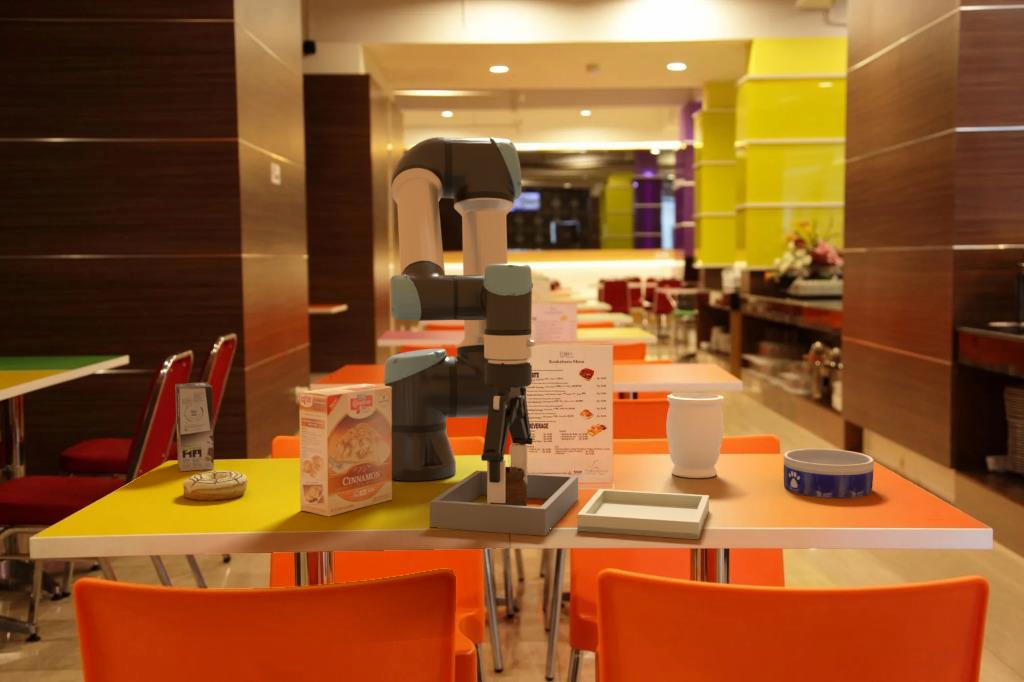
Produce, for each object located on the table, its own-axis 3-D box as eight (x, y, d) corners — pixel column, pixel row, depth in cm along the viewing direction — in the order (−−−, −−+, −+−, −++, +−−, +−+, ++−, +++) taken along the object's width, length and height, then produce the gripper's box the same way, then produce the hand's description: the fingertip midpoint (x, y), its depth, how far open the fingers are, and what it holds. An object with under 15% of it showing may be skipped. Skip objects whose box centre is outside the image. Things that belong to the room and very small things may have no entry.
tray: (577, 530, 158) (577, 514, 158) (599, 503, 175) (599, 488, 175) (698, 539, 153) (699, 522, 153) (708, 510, 170) (709, 495, 170)
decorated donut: (184, 491, 185) (183, 470, 185) (247, 488, 188) (246, 467, 188) (182, 504, 175) (182, 482, 175) (249, 500, 178) (248, 478, 178)
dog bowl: (892, 494, 183) (893, 459, 183) (825, 503, 176) (826, 467, 176) (828, 477, 197) (829, 445, 196) (765, 485, 190) (765, 452, 189)
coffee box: (215, 469, 203) (213, 386, 202) (180, 472, 201) (178, 388, 199) (210, 460, 212) (208, 381, 210) (176, 463, 209) (174, 382, 208)
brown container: (534, 511, 170) (534, 437, 169) (512, 519, 165) (512, 443, 164) (504, 506, 173) (503, 434, 172) (481, 514, 168) (481, 440, 167)
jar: (719, 469, 203) (721, 392, 202) (725, 480, 193) (726, 399, 192) (664, 468, 204) (665, 391, 203) (667, 479, 194) (668, 399, 193)
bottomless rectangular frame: (429, 527, 160) (429, 501, 159) (476, 493, 183) (476, 470, 182) (545, 535, 155) (545, 509, 155) (578, 499, 178) (578, 476, 178)
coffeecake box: (329, 517, 166) (327, 394, 164) (298, 510, 170) (296, 391, 169) (394, 500, 178) (393, 385, 176) (364, 494, 182) (363, 382, 181)
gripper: (510, 369, 154) (510, 512, 156) (549, 354, 178) (548, 478, 180) (461, 368, 156) (461, 509, 158) (506, 353, 180) (506, 475, 182)
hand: (508, 493), depth 169 cm, fingers open, 13 cm apart
